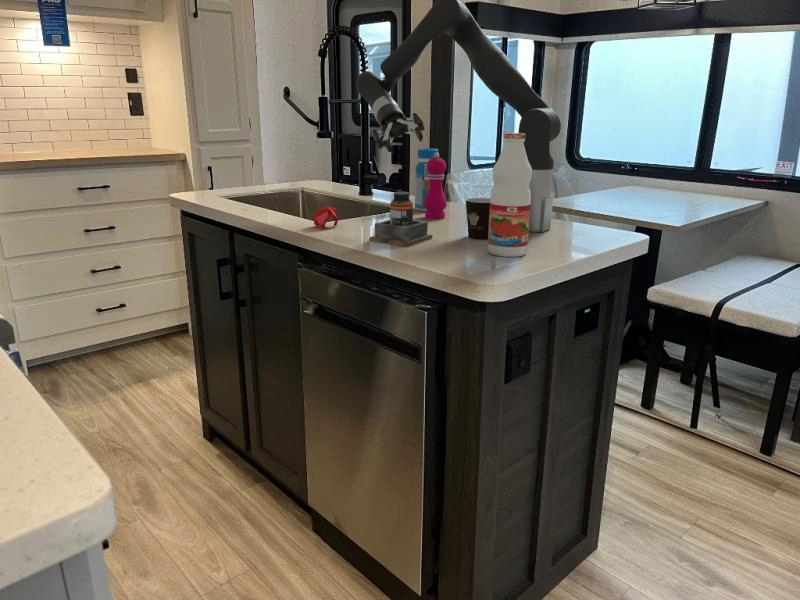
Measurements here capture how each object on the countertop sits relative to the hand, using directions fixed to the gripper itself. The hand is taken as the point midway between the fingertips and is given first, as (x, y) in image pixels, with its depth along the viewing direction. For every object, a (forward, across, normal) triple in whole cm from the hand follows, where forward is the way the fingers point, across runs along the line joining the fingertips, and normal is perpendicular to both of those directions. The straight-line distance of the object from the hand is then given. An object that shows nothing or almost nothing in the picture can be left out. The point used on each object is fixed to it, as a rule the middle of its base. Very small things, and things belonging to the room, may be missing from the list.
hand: (406, 144), depth 171 cm
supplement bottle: (+24, -12, +8) cm, 28 cm away
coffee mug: (+29, +8, +16) cm, 34 cm away
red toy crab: (+4, -30, +13) cm, 33 cm away
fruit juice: (+44, +9, +8) cm, 46 cm away
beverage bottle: (-13, +3, +39) cm, 41 cm away
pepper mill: (0, +2, +30) cm, 30 cm away
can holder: (+24, -12, +9) cm, 29 cm away
